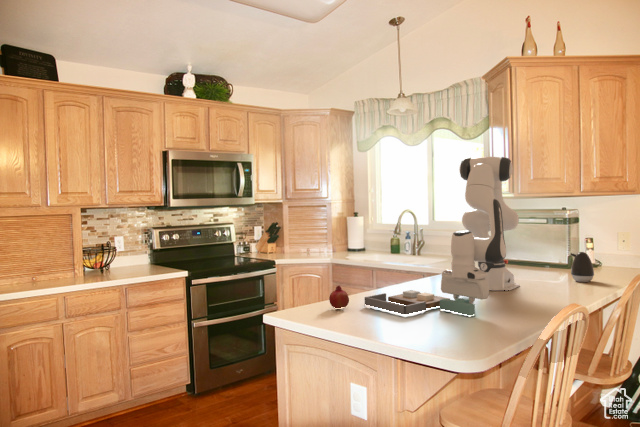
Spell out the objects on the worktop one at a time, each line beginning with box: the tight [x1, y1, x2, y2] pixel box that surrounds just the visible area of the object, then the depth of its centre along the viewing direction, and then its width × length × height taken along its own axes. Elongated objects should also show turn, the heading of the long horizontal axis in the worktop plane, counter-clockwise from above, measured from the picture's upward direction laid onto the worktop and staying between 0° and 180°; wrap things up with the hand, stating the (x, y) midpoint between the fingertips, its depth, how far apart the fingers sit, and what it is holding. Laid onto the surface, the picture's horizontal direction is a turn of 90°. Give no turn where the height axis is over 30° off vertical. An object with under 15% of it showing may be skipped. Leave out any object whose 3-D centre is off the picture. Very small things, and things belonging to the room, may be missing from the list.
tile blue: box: [402, 289, 421, 298], centre depth 190 cm, size 5×5×2 cm
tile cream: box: [417, 292, 435, 301], centre depth 184 cm, size 5×5×2 cm
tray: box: [364, 292, 426, 314], centre depth 179 cm, size 12×23×4 cm, turn 35°
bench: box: [387, 292, 451, 308], centre depth 187 cm, size 16×20×3 cm
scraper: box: [439, 296, 476, 315], centre depth 172 cm, size 9×14×5 cm, turn 35°
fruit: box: [328, 285, 350, 309], centre depth 183 cm, size 8×8×10 cm
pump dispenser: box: [569, 251, 595, 283], centre depth 226 cm, size 10×10×15 cm
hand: (464, 307), depth 173 cm, fingers closed on scraper, 3 cm apart
